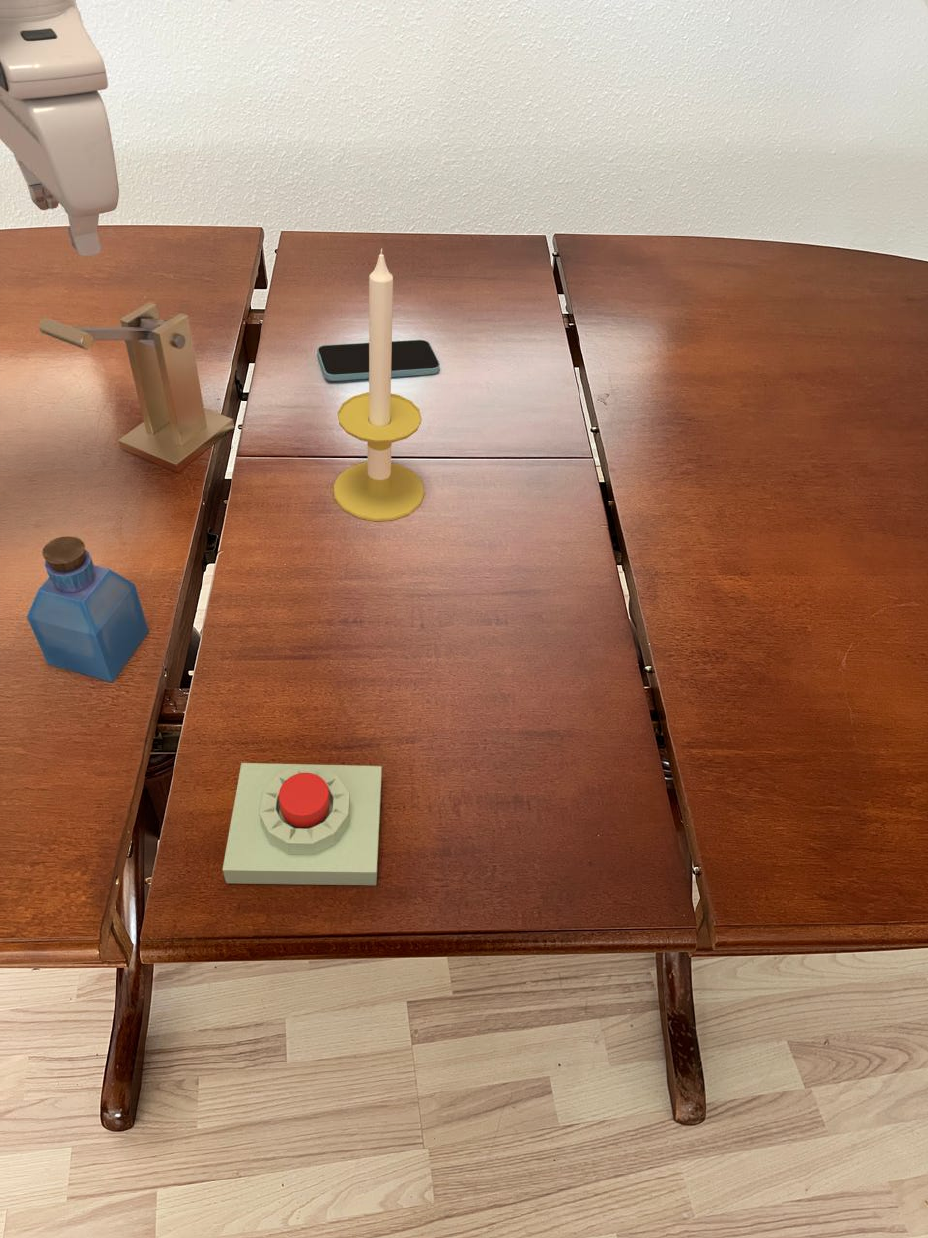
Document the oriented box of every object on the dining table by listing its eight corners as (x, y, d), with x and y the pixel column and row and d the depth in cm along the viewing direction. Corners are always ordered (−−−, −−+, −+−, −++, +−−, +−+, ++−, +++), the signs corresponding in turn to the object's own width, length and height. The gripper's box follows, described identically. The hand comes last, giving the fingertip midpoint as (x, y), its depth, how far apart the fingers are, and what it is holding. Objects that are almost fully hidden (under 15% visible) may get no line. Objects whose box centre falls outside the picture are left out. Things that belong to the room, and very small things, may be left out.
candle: (347, 529, 90) (341, 281, 70) (322, 471, 96) (309, 228, 76) (437, 511, 93) (455, 269, 73) (407, 456, 99) (416, 218, 79)
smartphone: (442, 368, 110) (325, 375, 106) (441, 375, 111) (326, 383, 107) (427, 338, 115) (315, 345, 111) (427, 346, 115) (315, 352, 111)
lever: (80, 355, 77) (83, 328, 76) (37, 338, 78) (39, 311, 77) (184, 352, 89) (187, 328, 88) (146, 337, 90) (148, 314, 89)
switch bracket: (178, 473, 93) (152, 350, 82) (120, 448, 95) (87, 326, 84) (234, 427, 100) (217, 308, 89) (179, 405, 102) (155, 286, 91)
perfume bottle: (47, 664, 75) (4, 566, 66) (87, 615, 79) (51, 516, 70) (112, 682, 74) (77, 585, 65) (148, 631, 78) (120, 534, 69)
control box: (225, 883, 63) (218, 858, 60) (244, 777, 69) (238, 749, 66) (376, 885, 64) (376, 861, 61) (381, 780, 70) (382, 753, 67)
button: (277, 827, 62) (275, 815, 61) (283, 784, 65) (281, 771, 63) (327, 828, 62) (326, 816, 61) (331, 785, 65) (330, 772, 64)
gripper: (-74, -6, 64) (-13, 187, 74) (15, 79, 54) (71, 289, 64) (13, -11, 67) (60, 175, 77) (114, 68, 57) (153, 271, 67)
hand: (66, 228), depth 70 cm, fingers open, 8 cm apart
